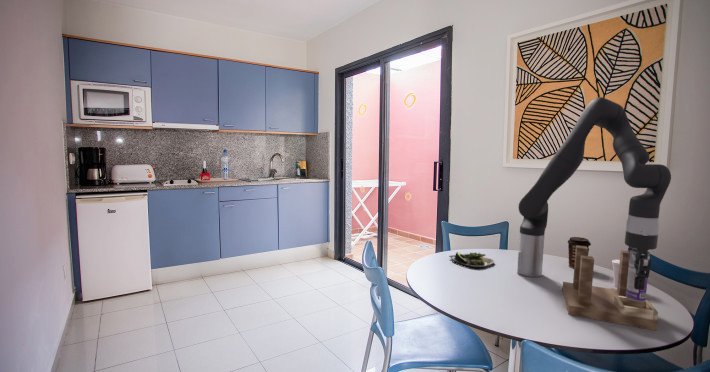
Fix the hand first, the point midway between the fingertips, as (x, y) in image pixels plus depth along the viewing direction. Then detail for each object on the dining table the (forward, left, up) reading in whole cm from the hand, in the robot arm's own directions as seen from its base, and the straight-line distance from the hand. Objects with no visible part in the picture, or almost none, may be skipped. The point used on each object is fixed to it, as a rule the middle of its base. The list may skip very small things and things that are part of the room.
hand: (636, 285), depth 106 cm
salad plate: (-52, +34, -12) cm, 64 cm away
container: (0, 0, -4) cm, 4 cm away
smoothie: (+3, +30, -11) cm, 33 cm away
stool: (-6, +6, -11) cm, 14 cm away
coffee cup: (-9, +48, -11) cm, 51 cm away
